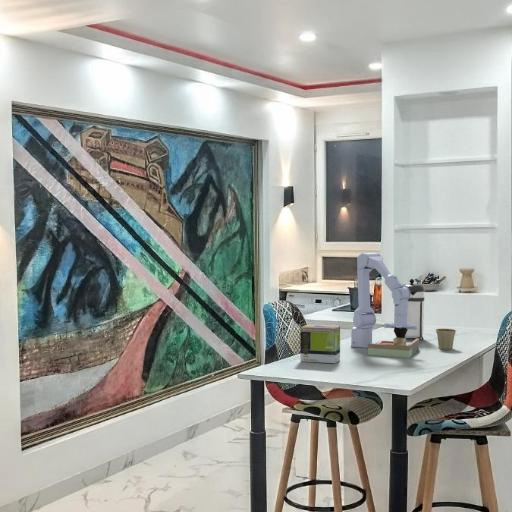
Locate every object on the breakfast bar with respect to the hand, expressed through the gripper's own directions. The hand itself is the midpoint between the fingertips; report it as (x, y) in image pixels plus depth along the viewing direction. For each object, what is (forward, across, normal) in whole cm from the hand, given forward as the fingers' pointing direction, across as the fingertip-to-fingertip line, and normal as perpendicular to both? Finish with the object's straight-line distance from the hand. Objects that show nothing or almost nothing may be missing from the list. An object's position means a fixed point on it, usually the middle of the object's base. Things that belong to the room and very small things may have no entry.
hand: (400, 345), depth 350 cm
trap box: (+4, +4, -3) cm, 6 cm away
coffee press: (+4, +9, -48) cm, 49 cm away
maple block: (+1, -1, +4) cm, 4 cm away
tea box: (+4, +25, +34) cm, 42 cm away
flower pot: (+4, -14, -25) cm, 29 cm away
